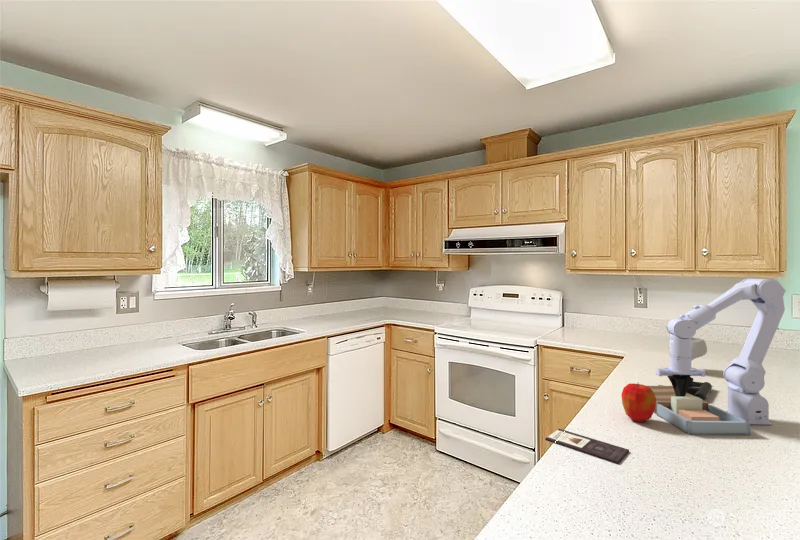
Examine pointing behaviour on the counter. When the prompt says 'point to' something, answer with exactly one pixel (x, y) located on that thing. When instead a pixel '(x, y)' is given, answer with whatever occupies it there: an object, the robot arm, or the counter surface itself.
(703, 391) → the black toy gun
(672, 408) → the tile rear
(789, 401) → the counter surface
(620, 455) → the chocolate bar
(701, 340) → the chalice
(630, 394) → the apple
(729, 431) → the box
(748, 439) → the counter surface
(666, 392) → the walnut board
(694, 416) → the tile front
